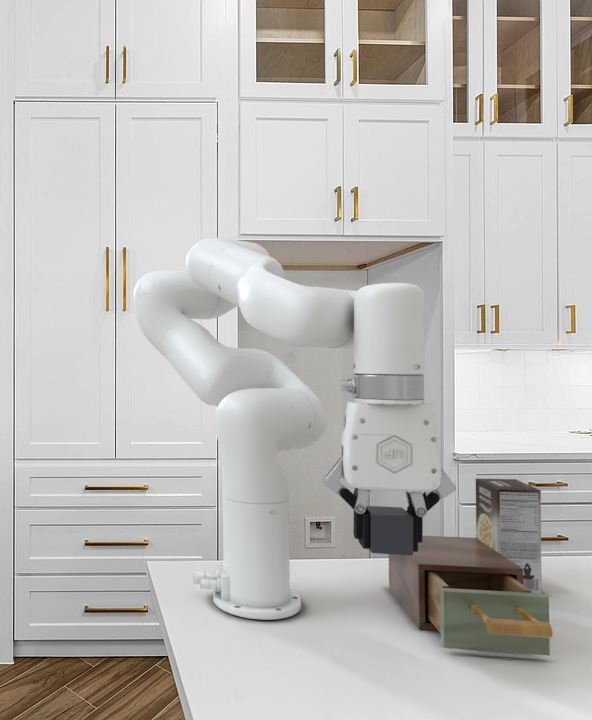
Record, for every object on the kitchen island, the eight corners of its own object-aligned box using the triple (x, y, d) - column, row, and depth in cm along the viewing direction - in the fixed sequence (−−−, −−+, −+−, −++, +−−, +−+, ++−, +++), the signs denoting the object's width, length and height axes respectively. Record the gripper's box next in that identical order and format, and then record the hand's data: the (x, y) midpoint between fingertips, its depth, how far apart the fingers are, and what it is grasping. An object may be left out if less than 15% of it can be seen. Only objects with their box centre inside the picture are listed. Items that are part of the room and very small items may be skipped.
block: (371, 553, 68) (371, 514, 68) (363, 541, 72) (363, 505, 72) (413, 555, 67) (413, 516, 67) (402, 544, 72) (402, 507, 72)
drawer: (582, 683, 64) (580, 619, 64) (465, 674, 66) (464, 611, 66) (497, 610, 83) (496, 560, 83) (409, 604, 85) (409, 556, 85)
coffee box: (474, 573, 101) (473, 477, 101) (517, 575, 100) (515, 478, 100) (498, 592, 92) (496, 487, 92) (545, 595, 91) (543, 489, 91)
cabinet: (524, 636, 77) (523, 568, 77) (419, 629, 79) (418, 563, 80) (477, 594, 91) (476, 537, 92) (389, 589, 94) (388, 534, 94)
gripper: (317, 391, 68) (316, 552, 68) (480, 393, 65) (479, 562, 65) (308, 387, 75) (307, 533, 75) (454, 389, 72) (454, 541, 72)
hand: (387, 545), depth 70 cm, fingers closed on block, 4 cm apart
